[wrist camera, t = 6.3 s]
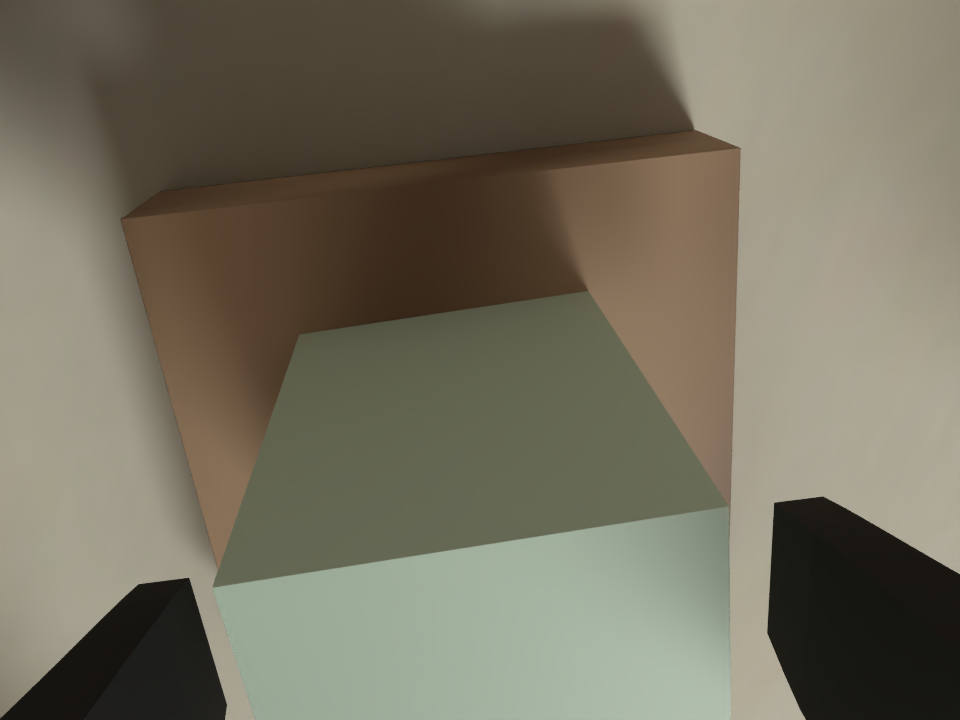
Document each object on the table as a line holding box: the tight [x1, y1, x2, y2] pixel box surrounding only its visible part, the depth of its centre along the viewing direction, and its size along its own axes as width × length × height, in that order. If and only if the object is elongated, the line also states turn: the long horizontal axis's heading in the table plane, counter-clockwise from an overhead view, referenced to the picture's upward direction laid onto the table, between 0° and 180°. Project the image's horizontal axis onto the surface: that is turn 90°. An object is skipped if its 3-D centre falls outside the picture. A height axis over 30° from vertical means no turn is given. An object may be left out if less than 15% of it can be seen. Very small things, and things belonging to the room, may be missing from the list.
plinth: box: [120, 130, 741, 570], centre depth 14 cm, size 9×9×2 cm
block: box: [212, 291, 731, 720], centre depth 11 cm, size 4×4×6 cm
